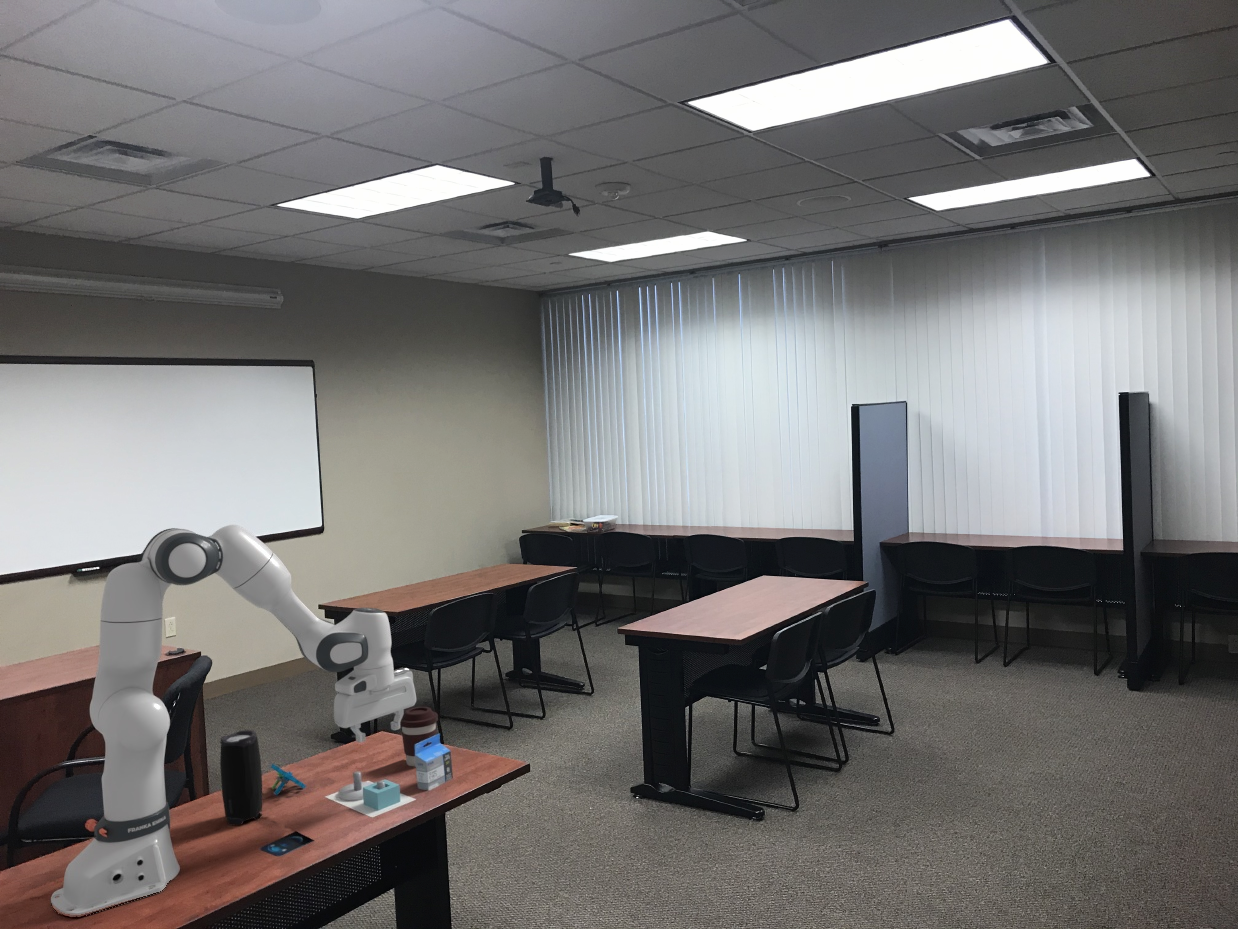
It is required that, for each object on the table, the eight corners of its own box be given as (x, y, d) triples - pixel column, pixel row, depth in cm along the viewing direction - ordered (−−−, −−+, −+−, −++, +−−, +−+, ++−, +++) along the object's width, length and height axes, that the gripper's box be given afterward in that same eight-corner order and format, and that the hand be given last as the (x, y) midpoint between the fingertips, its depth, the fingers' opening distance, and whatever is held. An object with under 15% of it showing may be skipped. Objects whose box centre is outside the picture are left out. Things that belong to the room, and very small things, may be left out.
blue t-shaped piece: (312, 786, 225) (280, 764, 221) (297, 808, 222) (263, 786, 219) (300, 779, 234) (268, 758, 231) (285, 800, 231) (253, 779, 228)
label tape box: (429, 797, 219) (426, 746, 218) (416, 794, 221) (413, 744, 220) (454, 784, 226) (451, 735, 226) (441, 781, 228) (438, 733, 228)
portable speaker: (250, 807, 218) (245, 726, 217) (272, 816, 212) (267, 733, 211) (216, 820, 211) (210, 737, 210) (237, 830, 205) (232, 744, 205)
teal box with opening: (378, 810, 209) (377, 793, 208) (363, 804, 212) (362, 787, 212) (400, 801, 213) (399, 784, 213) (385, 795, 217) (384, 779, 217)
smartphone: (257, 848, 195) (316, 821, 208) (257, 851, 195) (317, 823, 208) (278, 856, 191) (338, 828, 203) (279, 859, 191) (338, 830, 203)
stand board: (372, 824, 205) (370, 795, 205) (325, 803, 218) (323, 776, 218) (416, 805, 214) (414, 778, 214) (368, 786, 227) (366, 761, 227)
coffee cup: (429, 757, 246) (426, 702, 246) (447, 766, 239) (444, 709, 238) (395, 767, 240) (392, 710, 239) (412, 777, 232) (409, 719, 232)
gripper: (403, 664, 221) (407, 720, 222) (328, 685, 206) (332, 745, 207) (419, 667, 217) (423, 724, 218) (343, 690, 202) (347, 751, 203)
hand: (378, 735), depth 212 cm, fingers open, 8 cm apart
